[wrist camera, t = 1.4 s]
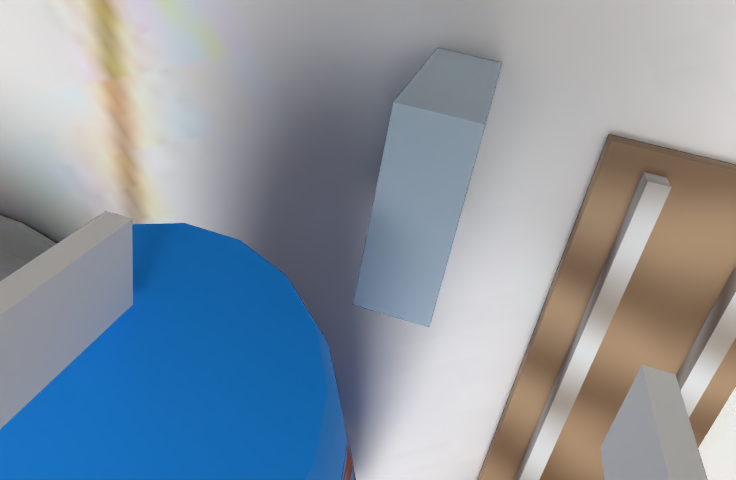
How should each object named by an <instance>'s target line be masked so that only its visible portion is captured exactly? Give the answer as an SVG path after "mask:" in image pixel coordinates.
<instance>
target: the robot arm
mask: <svg viewBox="0 0 736 480" xmlns="http://www.w3.org/2000/svg"><path fill="white" fill-rule="evenodd" d="M132 305H133V249H132V219H131V218H128V217H124V216H121V215H117V214H114V213H110V212H107V211H105V212H104V213H102V214H101V215H99V216H98V217H96V218H95V219H93V220H92V221H90V222H89V223H87V224H86V225H84V226H83V227H81V228H80V229H78V230H77V231H75V232H74V233H72V234H71V235H69V236H68V237H66V238H65V239H63V240H62V241H60V242H59V243H57V244H56V245H54V246H53V247H51V248H50V249H48V250H47V251H45V252H44V253H42V254H41V255H39V256H38V257H36V258H35V259H33V260H32V261H30V262H29V263H27V264H26V265H24V266H23V267H21V268H20V269H18V270H17V271H15V272H14V273H12V274H11V275H9V276H8V277H6V278H5V279H3V280H2V281H0V429H1V428H2V427H3V426H4V425H5V424H6V423H8V422H9V421H10V420H11V419H12V418H13V417H14V416H15V415H16V414H17V413H18V412H19V411H20V410H21V409H22V408H23V407H24V406H26V405H27V404H28V403H29V402H30V401H31V400H32V399H33V398H34V397H35V396H36V395H37V394H38V393H39V392H40V391H41V390H43V389H44V388H45V387H46V386H47V385H48V384H49V383H50V382H51V381H52V380H53V379H54V378H55V377H56V376H57V375H58V374H60V373H61V372H62V371H63V370H64V369H65V368H66V367H67V366H68V365H69V364H70V363H71V362H72V361H73V360H74V359H75V358H77V357H78V356H79V355H80V354H81V353H82V352H83V351H84V350H85V349H86V348H87V347H88V346H89V345H90V344H91V343H92V342H94V341H95V340H96V339H97V338H98V337H99V336H100V335H101V334H102V333H103V332H104V331H105V330H106V329H107V328H108V327H109V326H110V325H112V324H113V323H114V322H115V321H116V320H117V319H118V318H119V317H120V316H121V315H122V314H123V313H124V312H125V311H126V310H127V309H129V308H130V307H131V306H132ZM601 455H602V463H603V471H604V480H708V479H707V476H706V473H705V469H704V466H703V463H702V459H701V456H700V453H699V450H698V446H697V443H696V440H695V437H694V433H693V430H692V427H691V424H690V420H689V417H688V414H687V411H686V407H685V404H684V401H683V397H682V394H681V391H680V388H679V384H678V381H677V378H676V375H675V374H673V373H669V372H666V371H662V370H659V369H656V368H652V367H649V366H645V365H642V366H641V368H640V370H639V372H638V374H637V376H636V378H635V380H634V382H633V384H632V386H631V388H630V390H629V392H628V394H627V396H626V398H625V400H624V401H623V403H622V405H621V407H620V409H619V411H618V413H617V415H616V417H615V419H614V421H613V423H612V425H611V427H610V429H609V431H608V433H607V435H606V437H605V439H604V441H603V443H602V445H601Z"/></svg>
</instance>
